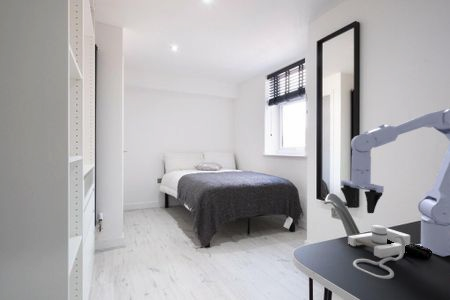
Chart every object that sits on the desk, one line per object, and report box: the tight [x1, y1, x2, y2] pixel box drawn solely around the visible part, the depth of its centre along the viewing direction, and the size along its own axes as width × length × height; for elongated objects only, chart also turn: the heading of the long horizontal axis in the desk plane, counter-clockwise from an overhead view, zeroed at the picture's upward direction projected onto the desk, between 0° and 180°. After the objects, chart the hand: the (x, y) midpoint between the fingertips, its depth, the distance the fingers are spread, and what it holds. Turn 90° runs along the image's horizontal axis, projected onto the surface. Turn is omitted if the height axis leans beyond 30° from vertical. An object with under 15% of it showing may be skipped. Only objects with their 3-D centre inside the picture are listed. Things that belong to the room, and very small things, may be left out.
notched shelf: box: [347, 224, 411, 259], centre depth 76 cm, size 13×11×5 cm
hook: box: [352, 235, 405, 280], centre depth 66 cm, size 7×9×20 cm
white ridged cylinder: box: [371, 224, 387, 246], centre depth 77 cm, size 4×4×6 cm
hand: (360, 210), depth 82 cm, fingers open, 7 cm apart
